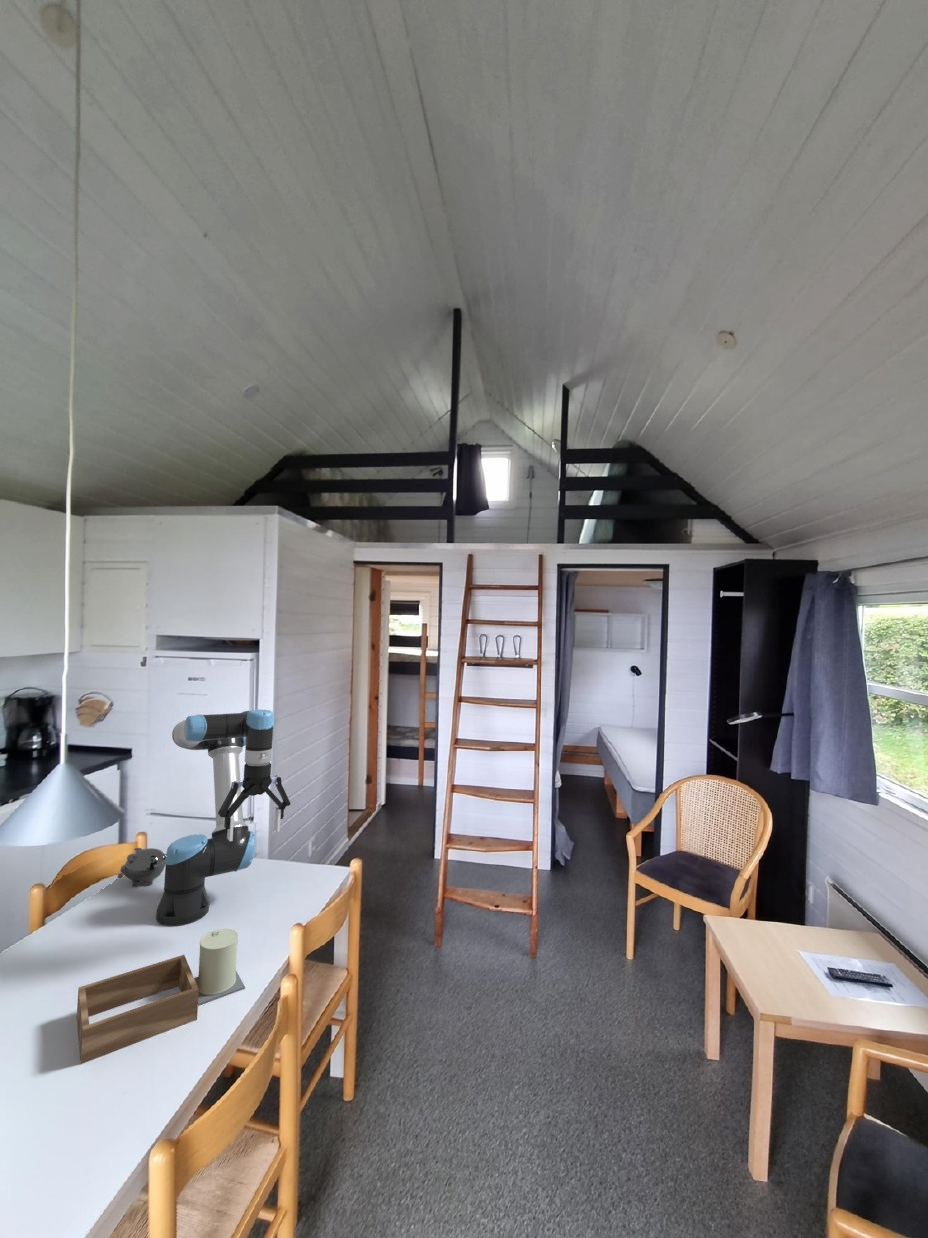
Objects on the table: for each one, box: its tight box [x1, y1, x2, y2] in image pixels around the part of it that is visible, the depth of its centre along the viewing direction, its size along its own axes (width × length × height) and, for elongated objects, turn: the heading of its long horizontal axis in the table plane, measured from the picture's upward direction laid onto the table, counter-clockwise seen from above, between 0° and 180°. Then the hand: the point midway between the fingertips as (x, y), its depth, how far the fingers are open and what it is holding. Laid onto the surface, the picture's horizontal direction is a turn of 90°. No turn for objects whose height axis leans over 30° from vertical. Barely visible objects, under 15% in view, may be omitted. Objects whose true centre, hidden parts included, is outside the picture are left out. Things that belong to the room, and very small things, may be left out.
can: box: [197, 928, 239, 995], centre depth 138 cm, size 9×9×12 cm
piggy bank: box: [120, 847, 166, 887], centre depth 189 cm, size 11×15×12 cm
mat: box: [194, 970, 246, 1007], centre depth 137 cm, size 11×11×1 cm
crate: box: [76, 954, 199, 1065], centre depth 125 cm, size 16×22×7 cm
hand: (254, 835), depth 157 cm, fingers open, 13 cm apart
